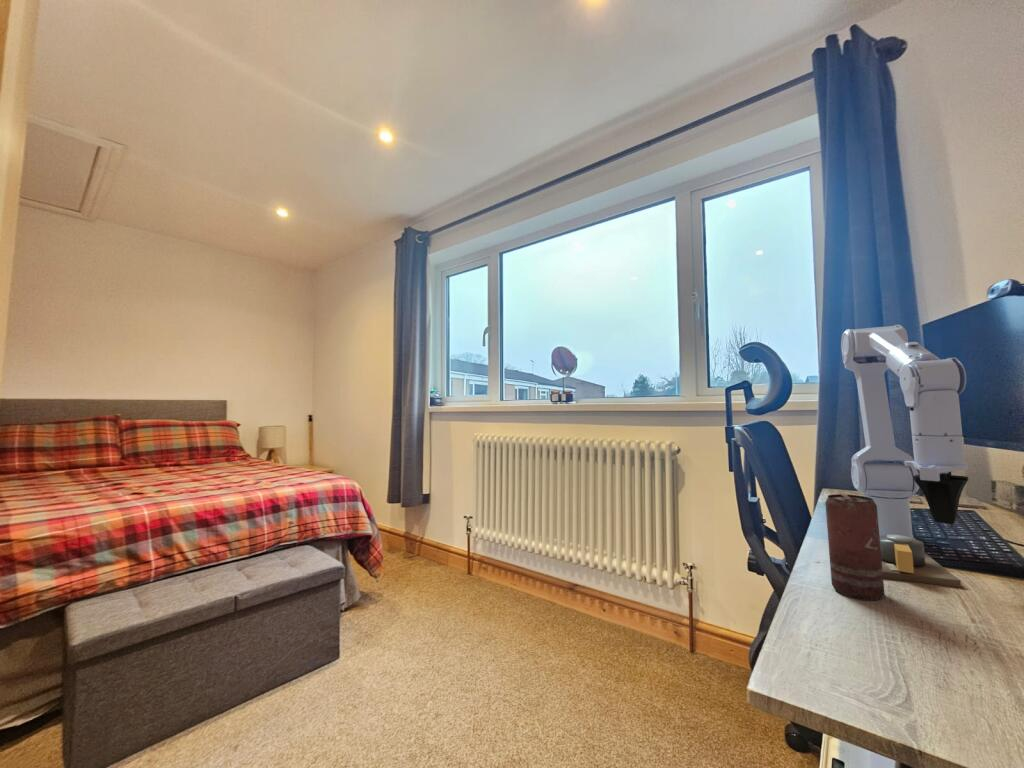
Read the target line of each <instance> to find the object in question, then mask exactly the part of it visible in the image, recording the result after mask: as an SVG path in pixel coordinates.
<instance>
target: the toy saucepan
mask: <svg viewBox="0 0 1024 768" xmlns="http://www.w3.org/2000/svg"><path fill="white" fill-rule="evenodd" d="M880 548H881V559H883V560H885V561H888V562H892V563H896V565H897V568H898V571H902V572H908V573H914V567H913V566H920V565H925V553H926V552H925V545H924V542H923V541H921V540H919V539H916V538H915V539H912V538H910V537H907V536H902V535H880Z"/></svg>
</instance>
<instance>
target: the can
mask: <svg viewBox="0 0 1024 768" xmlns="http://www.w3.org/2000/svg"><path fill="white" fill-rule="evenodd" d="M824 504H825V516H826V526H827V527H826V528H827V529H826V530H827V540H828V553H829V554H828V555H829V565H830V568H829V569H830V578H831V580H830V581H831V586H833V587H832V588H833V589H834V590H835V591H836V592H837V593H839V594H841V595H843V596H846V597H849V598H851V599H852V598H853V599H857V600H862V601H879V600H881V599H882V598H883V597H884V596H885V583H884V578H883V571H882V559H881V548H880V536H879V525H878V513H877V505H876V504H875V502H874V501H873V499H872V498H869V497H864V496H863V495H857V494H854V495H853V494H845V493H839V494H837V493H836V494H835V493H834V494H829V495H827V498H826V500H825V503H824Z"/></svg>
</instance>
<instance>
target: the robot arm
mask: <svg viewBox="0 0 1024 768" xmlns="http://www.w3.org/2000/svg"><path fill="white" fill-rule="evenodd" d="M840 347H841V348H840V349H841V356H842V363H843V365H844V369H845V370H848V371H850V372H853V373H854V378H855V381H856V386H857V394H858V400H859V406H860V407H859V408H860V414H861V422H862V427H863V435H864V437H863V438H864V443H865V447H863V448H862V449H860V450H858V451H857V452H855V453H854V454H853V455H852V457H851V469H850V477H851V482H852V486H853V487H854V489H856V490H857V492H859V493H861V494H862V496H864V497H869V498H872V499H873V501H874V502H875V504H876V505H877V513H878V525H879V536H880V535H902V536H907V537H910V538H912V539H916V538H915V537H914V536H913V527H912V518H911V517H912V516H911V515H912V514H911V504H910V498H913V496H914V494H916V493H917V492H918V491H919V489H920V490H921V492H922V494H923V495H924V497H925V500H926V502H927V505H928V508H929V510H930V514H931V516H932V518H933V520H934V522H935V523H941V524H948V525H954V524H955V523H956V520H957V517H958V510H959V505H960V504H959V503H960V499H961V495H962V492H963V490H964V488H965V486H966V485H967V482H969V477H968V476H966V475H953V474H952V472H954V473H955V472H956V473H957V472H962V471H967V470H968V469H969V466H968V464H967V463H966V457H965V447H964V437H963V428H962V415H961V408H960V399H959V395H960V394H962V393H963V392H964V390H965V389H966V384H967V372H966V369H965V367H964V365H963V363H962V362H961V361H960V360H959V359H958V358H957V357H948V358H945V359H944V358H943V359H941V358H940V357H938V356H936V355H935V353H932V352H931V351H929V350H928V349H926V348H925V347H924V346H922V345H921V344H920V343H919V342H918V341H910V342H909V337H908V333H907V330H906V328H905V327H904V326H903V325H901V324H895V325H890V326H877V327H867V328H866V327H865V328H856V329H855V328H854V329H851V328H847V329H845V331H844V332H842V335H841V341H840ZM888 370H891V372H893V373H894V374H895V376H897V377H898V378H899V385H900V390H901V391H902V394H903V398H904V403H905V406H906V407H908V408H909V418H910V431H911V439H912V441H911V442H912V452H913V456H911V454H908V453H906V452H905V451H903V450H901V449H900V448H898V447H897V446H896V443H895V437H894V436H895V435H894V428H893V422H892V417H891V411H890V410H891V408H890V403H889V397H888V390H887V385H886V378H885V377H886V376H885V374H886V371H888ZM869 461H870V462H869ZM918 470H919V471H918Z"/></svg>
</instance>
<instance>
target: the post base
mask: <svg viewBox="0 0 1024 768" xmlns="http://www.w3.org/2000/svg"><path fill="white" fill-rule="evenodd" d="M924 553H925V565H920V566H913V567H914V573H908V572H902V571H898V568H897V565H896V563H892V562H888V561H885V560H883V559H882V571H883V579H888V580H896V581H904V582H905V581H906V582H913V583H923V584H929V585H938V586H946V587H953V588H954V587H957V588H962V584H961V583H962V582H961V579H959V577H956V576H955V574H953V573H951V572H950V571H949V570H947V569H946V568H945V567H943V566H942V565H941V564H939V562H938V561H936V560H935V559H933V558H932V557H931V556H929V555H928V554H927V553H926V552H924Z"/></svg>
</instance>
